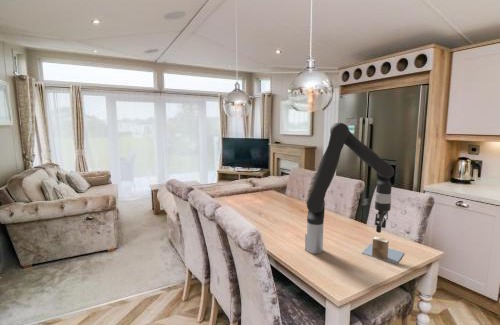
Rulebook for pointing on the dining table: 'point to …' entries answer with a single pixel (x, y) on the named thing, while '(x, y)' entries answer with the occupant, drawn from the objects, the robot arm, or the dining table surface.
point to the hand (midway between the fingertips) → (380, 229)
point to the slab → (380, 248)
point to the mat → (392, 254)
